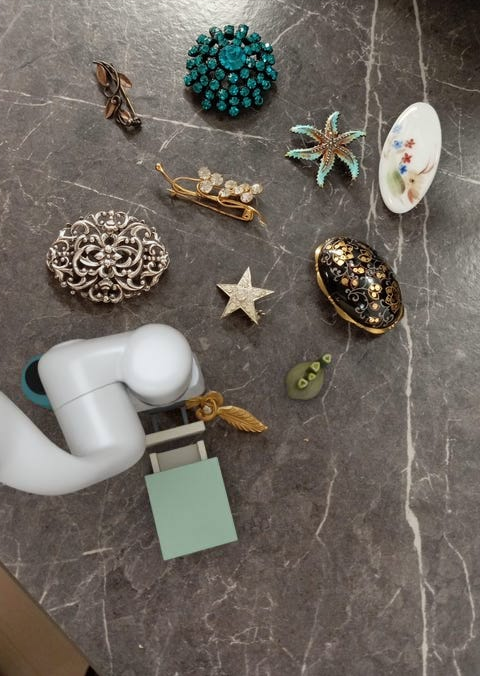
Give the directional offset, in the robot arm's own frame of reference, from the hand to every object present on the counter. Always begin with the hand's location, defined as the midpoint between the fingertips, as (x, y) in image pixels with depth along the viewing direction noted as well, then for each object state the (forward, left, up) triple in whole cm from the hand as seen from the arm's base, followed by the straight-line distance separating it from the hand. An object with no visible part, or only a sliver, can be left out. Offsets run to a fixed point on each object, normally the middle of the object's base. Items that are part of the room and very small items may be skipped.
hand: (162, 388), depth 119 cm
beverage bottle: (-13, +3, -5) cm, 14 cm away
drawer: (0, -8, -4) cm, 9 cm away
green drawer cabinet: (0, -16, -5) cm, 16 cm away
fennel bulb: (+19, -4, -5) cm, 20 cm away
